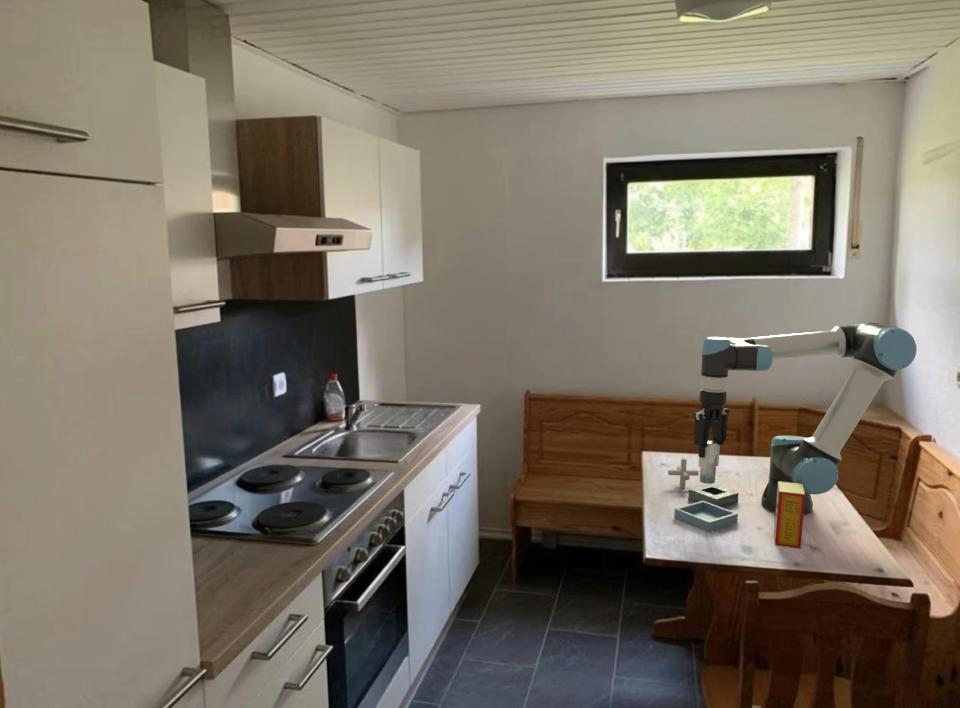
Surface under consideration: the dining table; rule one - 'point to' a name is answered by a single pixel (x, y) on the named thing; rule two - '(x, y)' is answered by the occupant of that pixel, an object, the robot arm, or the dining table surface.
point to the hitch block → (713, 495)
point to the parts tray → (706, 516)
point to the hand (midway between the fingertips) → (708, 466)
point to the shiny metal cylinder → (710, 464)
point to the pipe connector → (683, 472)
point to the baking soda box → (789, 514)
